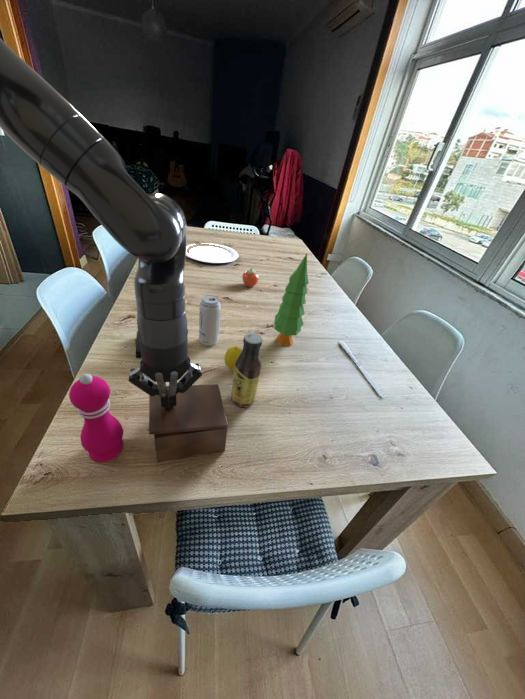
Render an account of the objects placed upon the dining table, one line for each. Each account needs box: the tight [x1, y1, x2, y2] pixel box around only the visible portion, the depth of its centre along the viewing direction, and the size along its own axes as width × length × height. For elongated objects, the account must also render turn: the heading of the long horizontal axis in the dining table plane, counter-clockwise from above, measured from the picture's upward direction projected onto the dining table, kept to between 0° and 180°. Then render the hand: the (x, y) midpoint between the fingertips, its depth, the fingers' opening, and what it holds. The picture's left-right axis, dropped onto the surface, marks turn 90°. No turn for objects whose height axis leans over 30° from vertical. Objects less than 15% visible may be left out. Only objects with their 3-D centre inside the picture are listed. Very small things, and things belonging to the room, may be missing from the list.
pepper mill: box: [68, 373, 124, 463], centre depth 53 cm, size 7×7×20 cm
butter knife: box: [338, 340, 384, 397], centre depth 93 cm, size 1×27×3 cm
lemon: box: [223, 345, 243, 371], centre depth 81 cm, size 6×6×8 cm
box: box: [153, 427, 228, 463], centre depth 62 cm, size 14×12×8 cm
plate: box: [186, 242, 239, 265], centre depth 153 cm, size 29×29×2 cm
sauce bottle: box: [230, 332, 263, 408], centre depth 69 cm, size 7×6×20 cm
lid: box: [148, 383, 229, 436], centre depth 59 cm, size 14×12×1 cm
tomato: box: [241, 267, 260, 288], centre depth 128 cm, size 7×7×8 cm
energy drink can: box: [198, 294, 222, 347], centre depth 88 cm, size 6×6×15 cm
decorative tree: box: [273, 253, 309, 347], centre depth 90 cm, size 10×9×30 cm
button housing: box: [134, 332, 142, 359], centre depth 86 cm, size 12×10×4 cm
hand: (168, 405), depth 58 cm, fingers closed
